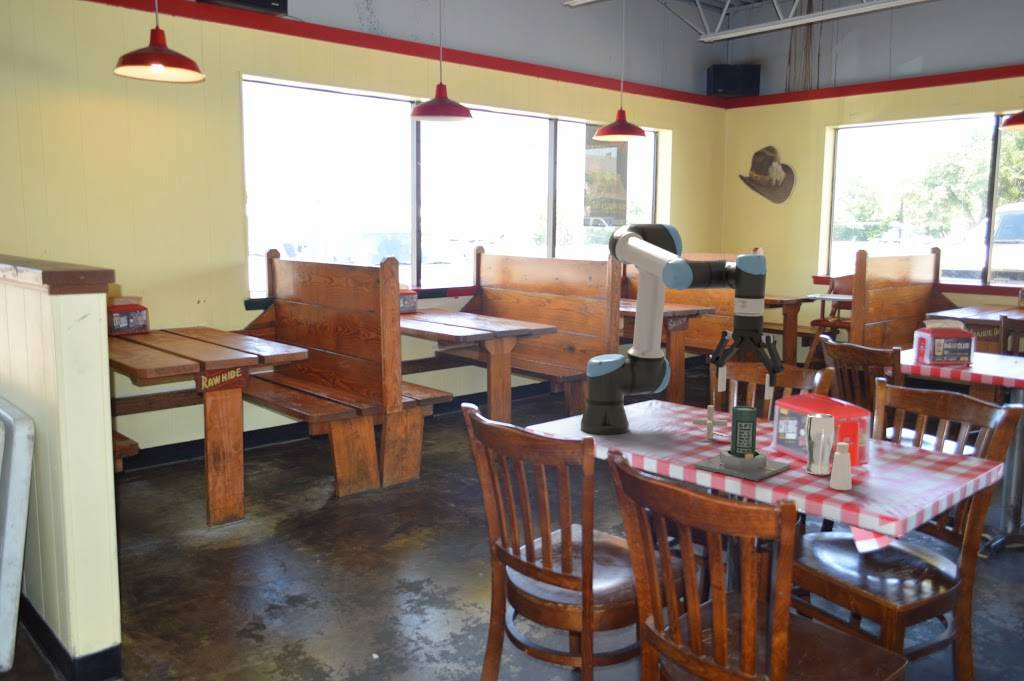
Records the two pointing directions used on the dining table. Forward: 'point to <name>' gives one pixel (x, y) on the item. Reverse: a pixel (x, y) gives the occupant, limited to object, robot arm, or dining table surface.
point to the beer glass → (819, 442)
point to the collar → (743, 465)
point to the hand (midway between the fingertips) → (744, 395)
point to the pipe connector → (710, 422)
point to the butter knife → (717, 433)
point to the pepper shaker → (841, 468)
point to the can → (743, 430)
